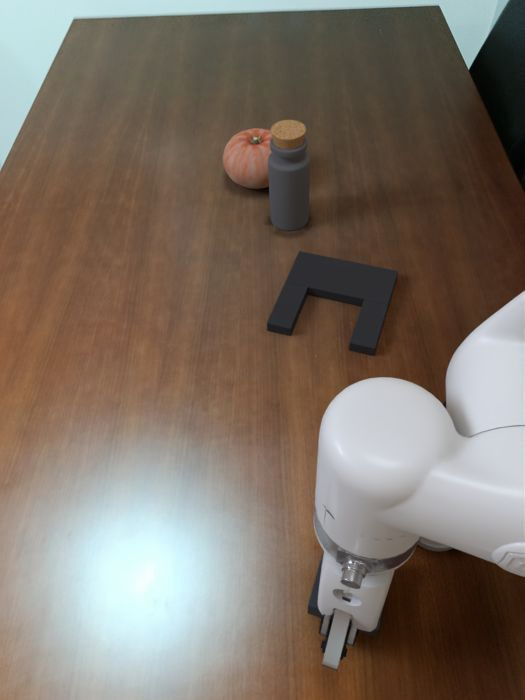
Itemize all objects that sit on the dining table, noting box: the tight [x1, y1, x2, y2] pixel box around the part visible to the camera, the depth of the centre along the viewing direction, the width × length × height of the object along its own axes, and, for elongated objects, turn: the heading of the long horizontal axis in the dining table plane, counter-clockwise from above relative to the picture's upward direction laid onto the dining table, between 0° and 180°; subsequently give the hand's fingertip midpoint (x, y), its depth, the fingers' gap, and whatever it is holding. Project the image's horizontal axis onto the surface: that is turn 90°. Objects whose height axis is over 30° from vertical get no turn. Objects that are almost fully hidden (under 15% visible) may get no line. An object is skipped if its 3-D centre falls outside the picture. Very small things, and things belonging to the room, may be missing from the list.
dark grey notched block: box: [266, 250, 399, 357], centre depth 77 cm, size 14×14×2 cm
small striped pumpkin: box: [222, 127, 272, 190], centre depth 92 cm, size 11×11×8 cm
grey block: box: [307, 550, 386, 638], centre depth 54 cm, size 6×6×3 cm
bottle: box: [268, 119, 311, 232], centre depth 83 cm, size 6×6×15 cm
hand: (349, 586), depth 54 cm, fingers open, 8 cm apart
